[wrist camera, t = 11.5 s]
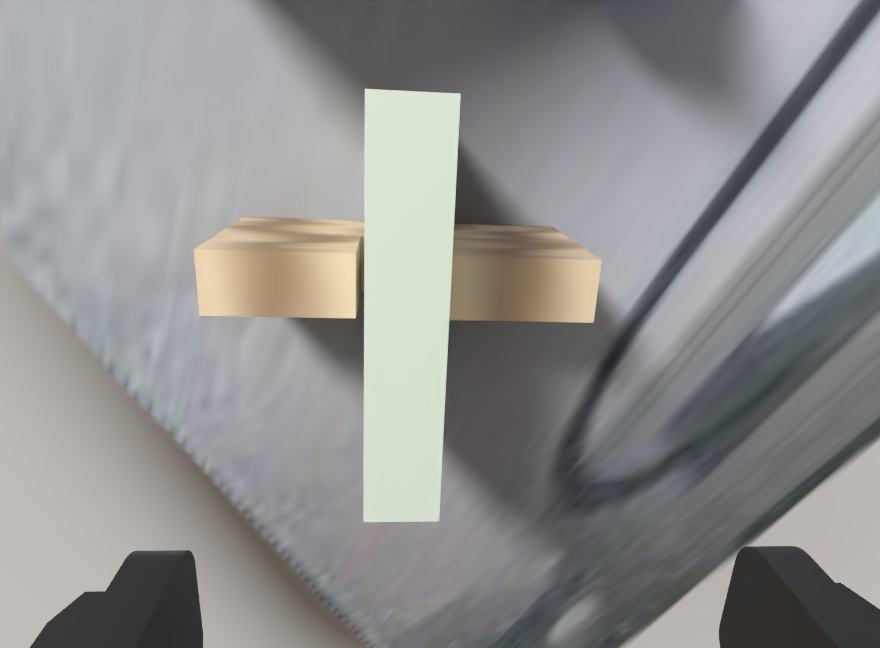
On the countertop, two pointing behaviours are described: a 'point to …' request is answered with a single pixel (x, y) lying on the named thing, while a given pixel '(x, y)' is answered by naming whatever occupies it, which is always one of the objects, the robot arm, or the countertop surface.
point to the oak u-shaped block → (342, 272)
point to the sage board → (407, 297)
